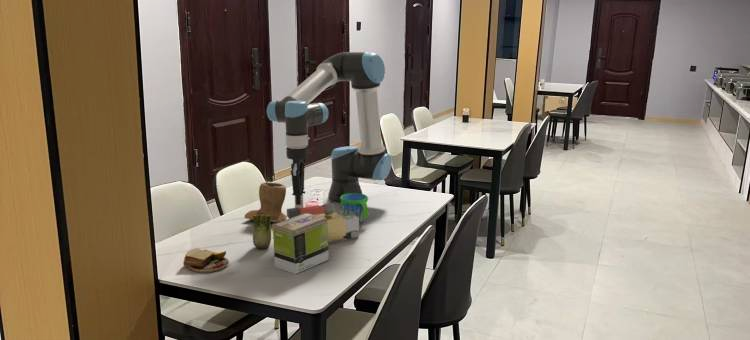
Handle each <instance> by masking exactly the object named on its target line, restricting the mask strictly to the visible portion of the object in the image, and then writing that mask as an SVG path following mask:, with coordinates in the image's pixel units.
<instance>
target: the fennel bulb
mask: <svg viewBox="0 0 750 340" xmlns="http://www.w3.org/2000/svg"><path fill="white" fill-rule="evenodd" d="M257 219H258V220H257ZM252 231H253V232H252V243H253V244H252V245H253V246H254V247H255V248H257V249H259V250H260V249H261V250H264V249H268V248H269V247H270V245H271V241H272V229H271V222H270V216H268V215H267V218H266V221H265V215H261V219H260V215H253V230H252Z"/></svg>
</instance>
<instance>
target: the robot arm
mask: <svg viewBox="0 0 750 340" xmlns="http://www.w3.org/2000/svg"><path fill="white" fill-rule="evenodd" d="M315 70H316V71H314V72H313V73H312V74H310V75H309V76H308V77H307V78H306V79H305V80H304V81H302V82H301V83H300V84H299V85H298V86H296V87H295V89H293V90H292V91H291V92H290V93H288V94H287V95H286V96H284V98H282V99H281V100H273V101H270V102H269V103H268V105H267V108H266V115H267V118H268V119H269V121H272V122H276V123H285V146H286V149H285V150H286V153H285V154H286V159H288V160H292V163H291V164H290V168H291V170H290V176H291V182H292V183H291V184H292V194H291V195H292V196H294V208H304V195H305V194H306V191H304V190H305V167H306V166H305V165H306V163H305V162H304V160H305V159H308V158H309V154H310V153H309V147H308V146H309V140H310V139H311V137H309V135H308V134H309V127H312V126H317V125H321V124H323V123H326V121H327V120H328V118H329V114H330V113H329V108H328V107H327V106H326V105H325V104H324V103H322V102H313V100H314V99H316V98H317V96H319V95H321V93H322V92H324V90H326V89H327V88H328V87H330V86H333V85H335V84H336V83H338V82H350V84H351V89H353V90H354V91H355V96H356V98H355V99H356V107H357V108H356V109H357V118H358V129H359V138H360V139H359V140H360V147H359V146H357V145H349V146H340V147H336V148H334V149H333V150H332V152H331V184H330V187H329V191H328V192H327V193H328V195H327V196H328V201H330V202H331V203H338V204H341V201H340V198H341V196H342V195H344V194H349V193H359V194H363V191H362V188H361V185H360V182H359V179H365V180H372V181H384V180H385V179H386V178H387V177H388V176H389V174H390V171H391V170H392V162H393V161H392V156H391V154H389V153H386V147H385V145H383V144H382V136H381V124H380V113H379V110H380V109H379V101H378V97H379V96H378V89H379V88H380V86H381V83H382V82H383V81H384V79H385V74H386V67H385V63H384V60H383V59H382V57H381V56H380V55H379V54H378V53H375V52H369V51H366V52H364V51H359V52H358V51H350V52H349V51H343V52H339V53H336V54H334V55H331V56H330V57H328V58H326V59H324V60H323V61H322V62H321V63H320V64H318V66H317V67H316V69H315ZM311 102H313V103H311Z"/></svg>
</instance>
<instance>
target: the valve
mask: <svg viewBox="0 0 750 340" xmlns="http://www.w3.org/2000/svg"><path fill="white" fill-rule="evenodd" d="M316 216H320V217H324V218H327V230H328V245H332V244H336V243H337V244H338V243H342V242H346V240H347V239H346V238H349V239H350V240H355V239H359V230H360V224H359V217H357V216H355V215H353V214H350V215H345V216H344V215H340V214H338V213H336V212H335V211H334V213H332V214H317V215H316ZM345 236H346V237H345Z"/></svg>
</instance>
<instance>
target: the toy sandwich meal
mask: <svg viewBox="0 0 750 340" xmlns="http://www.w3.org/2000/svg"><path fill="white" fill-rule="evenodd" d="M226 253H227V251H226V250H225V251H222V252H215V251H211V250H209V249H200V248H194V249H191V250H188V251H187V252H186V253H185V256H184V258H183V259H184V260H183V262H182V263H183V266H187V267H188V269H190V270H191V271H193V272H196V273H200V272H201V273H202V274H205V273H213V272H218V271H220V270H222V269H225V268H226V267H227V266H228V264H229V259H228V258H227V257H226Z"/></svg>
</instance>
